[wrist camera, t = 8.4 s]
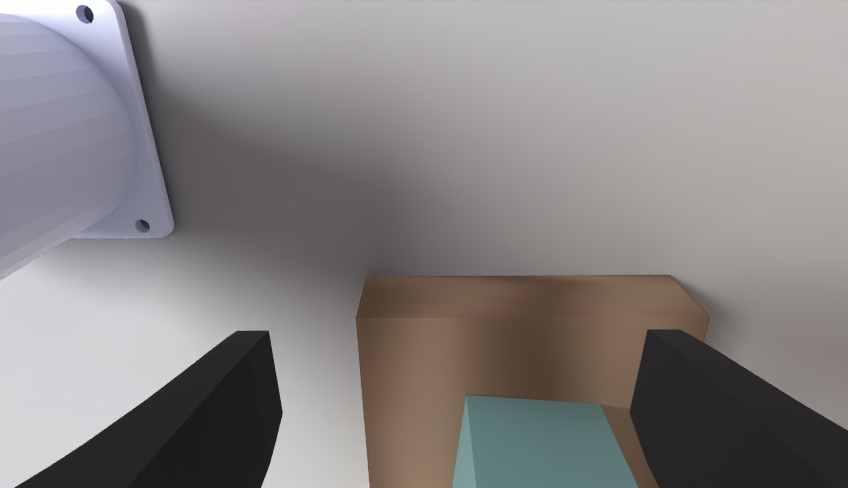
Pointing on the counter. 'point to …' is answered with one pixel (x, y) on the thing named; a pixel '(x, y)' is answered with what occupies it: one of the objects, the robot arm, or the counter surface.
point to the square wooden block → (502, 357)
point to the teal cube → (537, 446)
